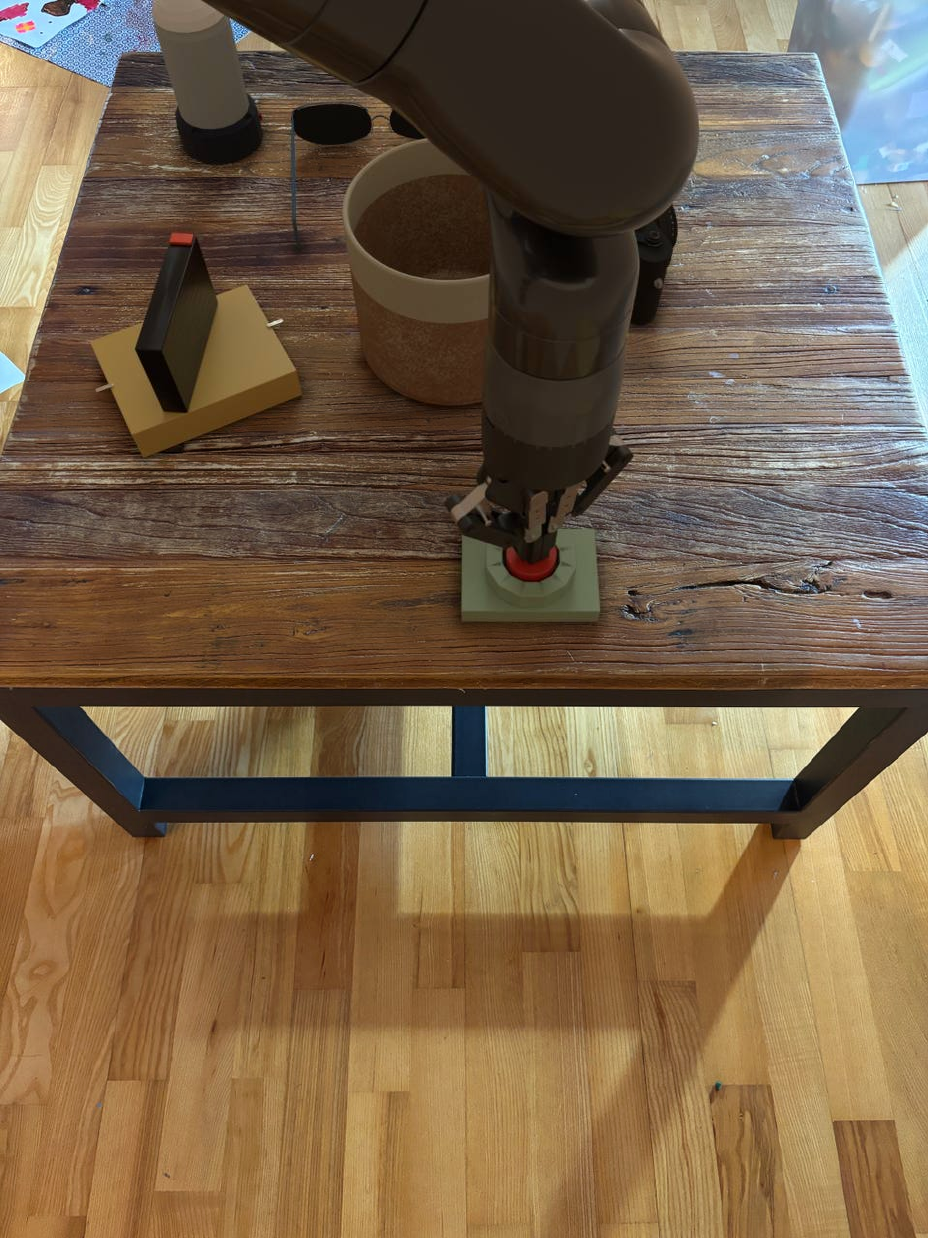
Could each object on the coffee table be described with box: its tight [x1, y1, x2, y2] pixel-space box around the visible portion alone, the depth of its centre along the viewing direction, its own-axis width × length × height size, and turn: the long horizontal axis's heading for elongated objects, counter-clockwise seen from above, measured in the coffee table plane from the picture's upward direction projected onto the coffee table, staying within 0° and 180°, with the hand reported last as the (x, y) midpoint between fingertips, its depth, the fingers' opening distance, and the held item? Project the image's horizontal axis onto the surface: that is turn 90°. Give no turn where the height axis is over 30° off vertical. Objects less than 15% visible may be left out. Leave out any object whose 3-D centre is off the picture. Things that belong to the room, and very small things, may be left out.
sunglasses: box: [290, 100, 427, 250], centre depth 87 cm, size 17×15×5 cm
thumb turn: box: [135, 232, 218, 413], centre depth 72 cm, size 12×2×7 cm, turn 175°
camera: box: [630, 203, 679, 325], centre depth 80 cm, size 14×7×8 cm, turn 24°
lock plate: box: [89, 284, 303, 459], centre depth 77 cm, size 16×11×3 cm
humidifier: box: [151, 0, 264, 165], centre depth 81 cm, size 8×8×25 cm
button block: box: [460, 527, 601, 623], centre depth 68 cm, size 10×7×4 cm
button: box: [505, 546, 557, 582], centre depth 66 cm, size 4×4×2 cm
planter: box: [341, 139, 491, 406], centre depth 74 cm, size 16×16×14 cm
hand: (532, 551), depth 66 cm, fingers closed
